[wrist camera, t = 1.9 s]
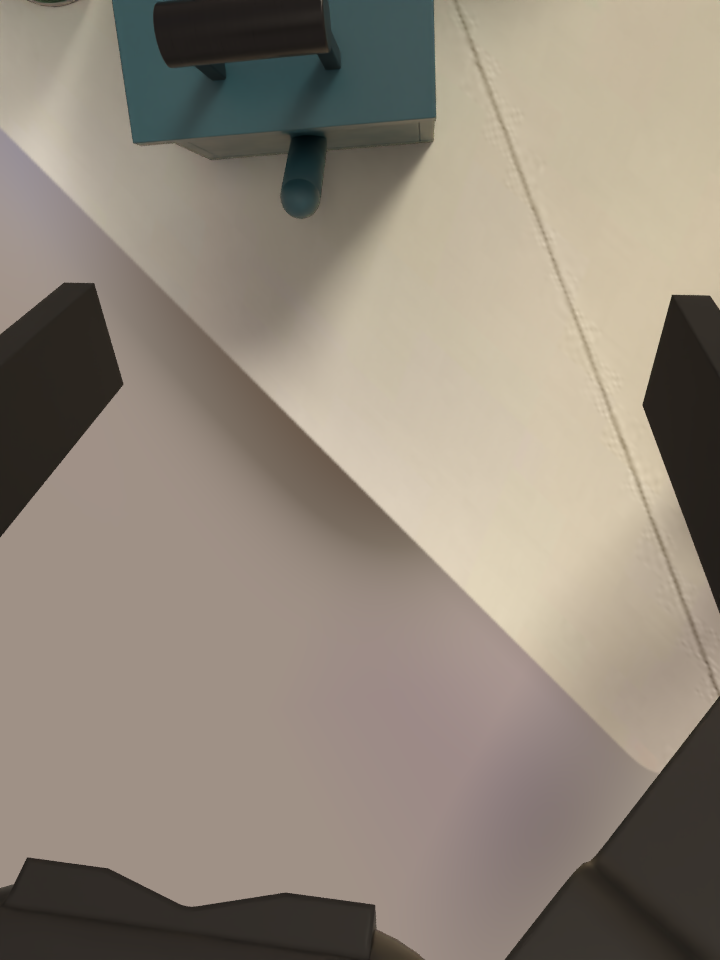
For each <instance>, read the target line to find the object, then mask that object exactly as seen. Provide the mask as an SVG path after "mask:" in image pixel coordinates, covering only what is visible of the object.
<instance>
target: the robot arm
mask: <svg viewBox="0 0 720 960" xmlns="http://www.w3.org/2000/svg"><path fill="white" fill-rule="evenodd" d="M122 385H123V381H122V378H121V374H120V371H119V367H118V364H117V360H116V357H115V353H114V350H113V346H112V343H111V340H110V336H109V333H108V329H107V326H106V322H105V319H104V315H103V313H102V309H101V305H100V302H99V298H98V295H97V291H96V288H95V284H94V283H63V284H62V285H61V286H59V287H58V288H57V289H56V290H55V291H53V292H52V293H51V294H50V295H48V296H47V297H46V298H45V299H43V300H42V301H41V302H40V303H38V304H37V305H36V306H35V307H34V308H32V309H31V310H30V311H29V312H27V313H26V314H25V315H24V316H23V317H21V318H20V319H19V320H18V321H16V322H15V323H14V324H13V325H11V326H10V327H9V328H8V329H6V330H5V331H4V332H3V333H2V334H0V537H1V536H2V534H3V533H4V532H5V531H6V529H7V528H8V527H9V526H10V524H11V523H12V522H13V521H14V520H15V518H16V517H17V516H18V515H19V513H20V512H21V511H22V510H23V508H24V507H25V506H26V505H27V503H28V502H29V501H30V500H31V498H32V497H33V496H34V495H35V493H36V492H37V491H38V490H39V489H40V487H41V486H42V485H43V484H44V482H45V481H46V480H47V479H48V477H49V476H50V475H51V474H52V472H53V471H54V470H55V469H56V467H57V466H58V465H59V464H60V463H61V461H62V460H63V459H64V458H65V456H66V455H67V454H68V453H69V451H70V450H71V449H72V448H73V446H74V445H75V444H76V443H77V441H78V440H79V439H80V438H81V436H82V435H83V434H84V433H85V431H86V430H87V429H88V428H89V426H90V425H91V424H92V423H93V422H94V420H95V419H96V418H97V417H98V415H99V414H100V413H101V412H102V410H103V409H104V408H105V407H106V405H107V404H108V403H109V402H110V401H111V399H112V398H113V397H114V395H115V394H116V393H117V392H118V391H119V389H120V388H121V387H122ZM643 408H644V411H645V413H646V416H647V419H648V421H649V424H650V427H651V429H652V432H653V435H654V438H655V440H656V443H657V446H658V448H659V451H660V454H661V456H662V459H663V462H664V464H665V467H666V470H667V473H668V475H669V478H670V481H671V483H672V486H673V489H674V491H675V494H676V497H677V499H678V502H679V505H680V508H681V510H682V513H683V516H684V518H685V521H686V524H687V526H688V529H689V532H690V534H691V537H692V540H693V543H694V545H695V548H696V551H697V553H698V556H699V559H700V561H701V564H702V567H703V569H704V572H705V575H706V578H707V580H708V583H709V586H710V588H711V591H712V594H713V596H714V599H715V602H716V604H717V607H718V610H719V613H720V310H719V308H718V307H717V305H716V304H715V302H714V301H713V300H712V298H711V297H710V296H701V295H672V297H671V301H670V304H669V308H668V312H667V315H666V319H665V323H664V327H663V330H662V334H661V338H660V342H659V345H658V349H657V353H656V357H655V360H654V364H653V368H652V371H651V375H650V379H649V383H648V386H647V390H646V394H645V398H644V401H643ZM0 960H424V959H423V958H422V957H421V956H420V955H419V954H418V953H416V952H415V951H413V950H412V949H410V948H409V947H407V946H406V945H404V944H403V943H401V942H400V941H398V940H397V939H395V938H393V937H391V936H389V935H386V934H385V933H383V932H381V931H378V930H377V929H376V912H375V905H372V904H365V903H357V902H350V901H343V900H336V899H328V898H321V897H314V896H306V895H299V894H292V893H280V894H275V895H268V896H261V897H255V898H248V899H242V900H235V901H230V902H223V903H216V904H210V905H203V906H196V907H188V906H183V905H180V904H178V903H176V902H174V901H172V900H170V899H168V898H166V897H164V896H162V895H160V894H158V893H156V892H154V891H152V890H150V889H148V888H146V887H144V886H142V885H140V884H138V883H136V882H134V881H132V880H130V879H128V878H126V877H124V876H122V875H120V874H118V873H116V872H114V871H112V870H110V869H108V868H100V867H93V866H86V865H79V864H71V863H64V862H57V861H49V860H42V859H34V858H27V859H26V861H25V863H24V865H23V867H22V869H21V871H20V873H19V875H18V877H17V879H16V882H15V884H14V885H9V886H6V887H2V888H0ZM505 960H720V696H719V698H718V699H717V700H716V701H715V703H714V704H713V705H712V707H711V708H710V709H709V711H708V712H707V713H706V714H705V716H704V717H703V718H702V720H701V721H700V722H699V723H698V725H697V726H696V727H695V729H694V730H693V731H692V732H691V734H690V735H689V736H688V738H687V739H686V740H685V742H684V743H683V744H682V745H681V747H680V748H679V749H678V751H677V752H676V753H675V754H674V756H673V757H672V758H671V760H670V761H669V762H668V764H667V765H666V766H665V767H664V769H663V770H662V771H661V773H660V774H659V775H658V776H657V778H656V779H655V780H654V782H653V783H652V784H651V785H650V787H649V788H648V789H647V791H646V792H645V793H644V795H643V796H642V797H641V798H640V800H639V801H638V802H637V804H636V805H635V806H634V807H633V809H632V810H631V811H630V813H629V814H628V815H627V817H626V818H625V819H624V820H623V822H622V823H621V824H620V826H619V827H618V828H617V829H616V831H615V832H614V833H613V835H612V836H611V837H610V838H609V840H608V841H607V842H606V844H605V845H604V846H603V848H602V849H601V850H600V851H599V852H598V854H597V855H596V856H595V857H594V858H593V859H592V860H591V861H589V862H586V863H583V864H582V865H581V866H580V867H579V868H578V869H577V870H576V871H575V872H574V873H573V874H572V875H571V877H570V878H569V879H568V880H567V882H566V883H565V884H564V885H563V886H562V887H561V889H560V890H559V891H558V892H557V894H556V895H555V896H554V898H553V899H552V900H551V901H550V903H549V904H548V905H547V906H546V908H545V909H544V910H543V912H542V913H541V914H540V915H539V917H538V918H537V919H536V920H535V922H534V923H533V924H532V926H531V927H530V928H529V929H528V931H527V932H526V933H525V934H524V936H523V937H522V939H521V940H520V941H519V942H518V943H517V945H516V946H515V947H514V948H513V950H512V951H511V952H510V954H509V955H508V956H507V958H506V959H505Z"/></svg>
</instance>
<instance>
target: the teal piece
mask: <svg viewBox="0 0 720 960" xmlns="http://www.w3.org/2000/svg"><path fill="white" fill-rule="evenodd" d="M326 151H327V139H326V138H324V137H321V136H314V135H305V136H298V137H294V138H292V139H291V141H290V146H289V151H288V156H287V162H286V167H285V172H284V177H283V182H282V188H281V193H280V199H281V203H282V206H283V208H284V210H285V211H286V212H287V213H288V214H289V215H291V216H292V217H295V218H299V219H303V218H307V217H309V216H311V215H313V214H314V213H315V211H316V210H317V209H318V206H319V203H320V197H321V190H322V182H323V174H324V167H325V159H326Z"/></svg>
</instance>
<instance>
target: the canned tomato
mask: <svg viewBox="0 0 720 960" xmlns="http://www.w3.org/2000/svg"><path fill="white" fill-rule="evenodd" d="M28 1H30V2H34V3H37V4H40V5H44V6H61V5H67V4H70V3H72V2H74V1H77V0H28Z"/></svg>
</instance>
